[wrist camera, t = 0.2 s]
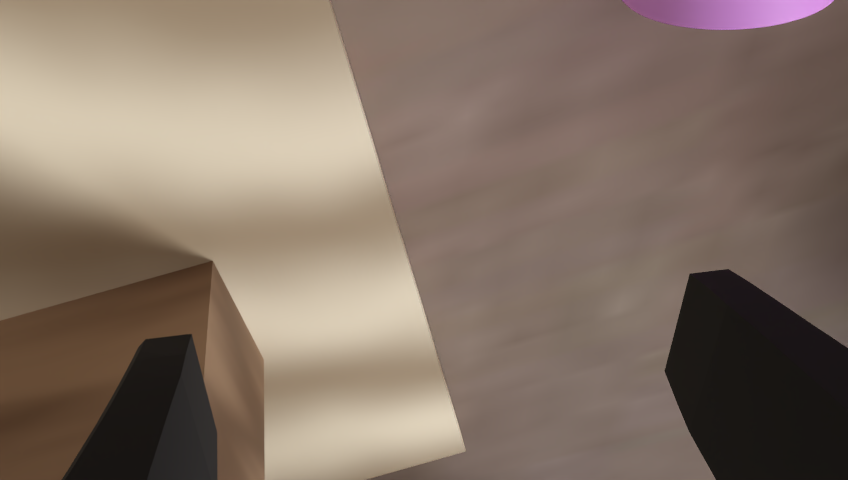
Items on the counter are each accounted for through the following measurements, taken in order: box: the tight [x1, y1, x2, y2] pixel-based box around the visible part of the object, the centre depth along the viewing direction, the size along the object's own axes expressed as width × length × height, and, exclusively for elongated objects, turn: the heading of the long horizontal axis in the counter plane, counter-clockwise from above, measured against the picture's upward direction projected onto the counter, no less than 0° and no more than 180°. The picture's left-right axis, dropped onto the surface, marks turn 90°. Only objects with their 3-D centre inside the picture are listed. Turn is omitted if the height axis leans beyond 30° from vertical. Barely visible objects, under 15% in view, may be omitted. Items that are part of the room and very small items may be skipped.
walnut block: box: [0, 261, 265, 480], centre depth 18 cm, size 4×6×8 cm, turn 102°
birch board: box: [0, 0, 466, 480], centre depth 20 cm, size 24×16×1 cm, turn 13°
